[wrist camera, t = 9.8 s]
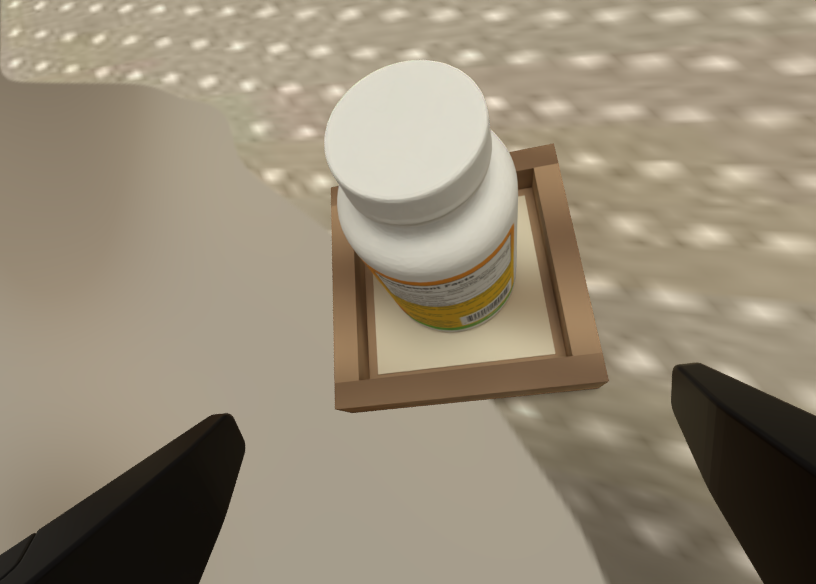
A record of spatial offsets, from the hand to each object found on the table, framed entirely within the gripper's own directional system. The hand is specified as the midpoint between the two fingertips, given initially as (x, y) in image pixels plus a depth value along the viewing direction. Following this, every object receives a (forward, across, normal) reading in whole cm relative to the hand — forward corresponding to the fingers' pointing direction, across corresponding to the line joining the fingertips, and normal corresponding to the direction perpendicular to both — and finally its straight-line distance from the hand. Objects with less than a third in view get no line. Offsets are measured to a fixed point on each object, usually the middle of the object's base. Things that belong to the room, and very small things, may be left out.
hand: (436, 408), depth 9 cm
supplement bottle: (+11, 0, +2) cm, 11 cm away
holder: (+11, 0, +2) cm, 11 cm away
